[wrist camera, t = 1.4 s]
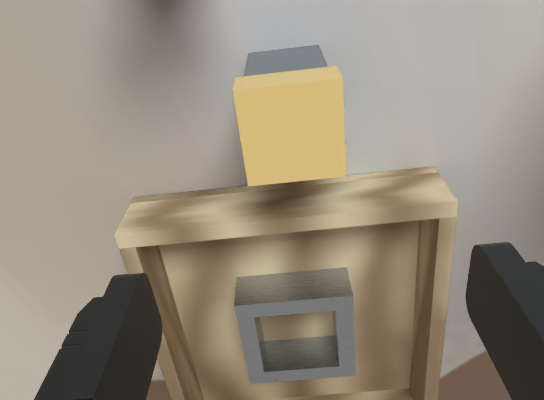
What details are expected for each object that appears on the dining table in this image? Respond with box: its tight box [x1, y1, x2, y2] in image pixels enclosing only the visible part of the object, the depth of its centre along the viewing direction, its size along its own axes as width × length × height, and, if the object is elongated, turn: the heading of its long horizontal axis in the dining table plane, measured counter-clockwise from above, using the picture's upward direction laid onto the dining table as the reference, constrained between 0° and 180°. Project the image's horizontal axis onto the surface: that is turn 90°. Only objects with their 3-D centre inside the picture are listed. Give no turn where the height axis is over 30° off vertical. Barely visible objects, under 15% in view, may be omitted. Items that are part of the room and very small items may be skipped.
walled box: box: [114, 167, 459, 400], centre depth 34 cm, size 20×22×4 cm
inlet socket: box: [234, 267, 356, 384], centre depth 34 cm, size 8×8×3 cm
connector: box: [233, 45, 346, 186], centre depth 24 cm, size 5×5×8 cm
